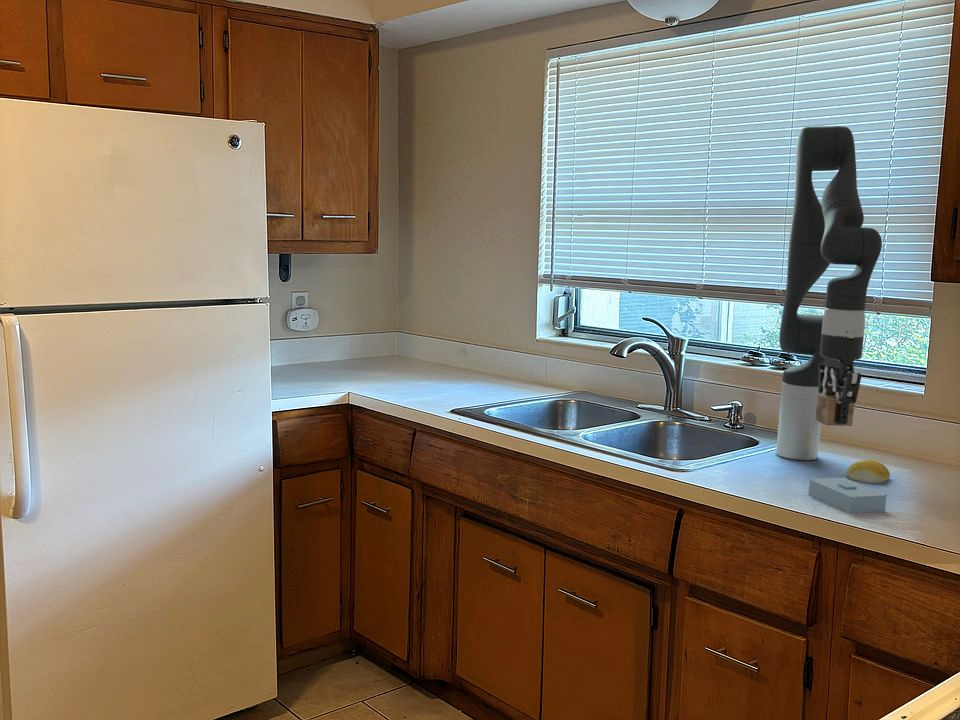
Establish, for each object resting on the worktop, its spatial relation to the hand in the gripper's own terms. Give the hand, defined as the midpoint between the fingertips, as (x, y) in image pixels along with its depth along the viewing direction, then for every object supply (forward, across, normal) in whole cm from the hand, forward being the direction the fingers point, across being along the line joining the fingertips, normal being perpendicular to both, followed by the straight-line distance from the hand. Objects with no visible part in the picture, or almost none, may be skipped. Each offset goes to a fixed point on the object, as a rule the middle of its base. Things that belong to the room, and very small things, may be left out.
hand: (834, 420), depth 172 cm
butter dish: (+16, +1, +3) cm, 17 cm away
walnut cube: (0, 0, 0) cm, 1 cm away
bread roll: (+16, -17, +16) cm, 28 cm away
